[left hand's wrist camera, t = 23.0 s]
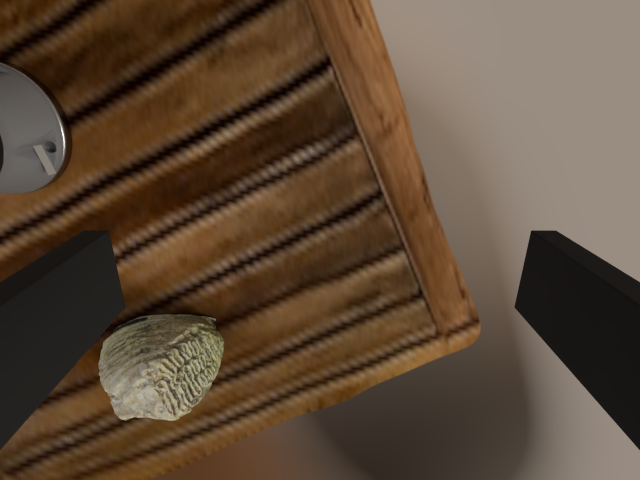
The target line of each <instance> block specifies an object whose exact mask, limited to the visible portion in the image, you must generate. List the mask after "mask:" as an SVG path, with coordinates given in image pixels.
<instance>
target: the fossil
mask: <svg viewBox="0 0 640 480" xmlns="http://www.w3.org/2000/svg"><path fill="white" fill-rule="evenodd" d="M215 320H216V319H214V318H211V317H207V316H195V315H182V314H179V315H170V314H163V315H150V316H143V317H139V318H136V319H134V320H131V321H128V322H127V323H126V324H123V325H120V326H118V327H117V328H116V329H115V330H114V331H113V332H112V334H111V335H110V336H109V337H108V338H107V339H105V340H104V342H103V349H102V350H101V356H100V360H99V369H100V372H99V375H100V381H101V384H102V385H103V388H104V390H105V391H106V392H107V393H108V395H109V396H110V400H111V404H112V407H113V409H114V412H115V414H116V415H117V416H118V417H119V418H120V419H123V420H128V419H130V418H133V417H138V418H145V417H149V418H154V419H164V420H170V421H173V420H177V419H179V418H180V417H181V416H183V415H185V414H187V413H189V412H191V411H192V408H193V407H194V406H195V405H196V404H198V403H199V402H200V400H201V399H202V398H203V397H204V396H205V395H206V393H207V392H208V390H209V389H210V387H211V384H212V381H213V380H214V379H215V377H216V375H217V373H218V370H219V367H220V364H221V359H222V356H223V349H224V340H223V337H222V336H221V334H220V333H219V332H218V331H217V330H216V326H215Z"/></svg>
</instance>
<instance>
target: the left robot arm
mask: <svg viewBox="0 0 640 480" xmlns="http://www.w3.org/2000/svg"><path fill="white" fill-rule="evenodd" d="M71 151H72V137H71V131H70V127H69V123H68V120H67V118H66V115H65V113H64V111H63V109H62V107H61V106H60V104H59V102H58V101H57V99H56V98H55V97H54V95H53V94H52V93H51V92H50V91H49V89H48V88H47V87H46V86H45V85H44V84H43V83H41V82H40V81H39V80H38V79H37V78H35V77H34V76H33V75H31V74H30V73H28V72H27V71H25V70H23V69H21V68H19V67H17V66H15V65H12V64H9V63H6V62H2V61H0V193H4V194H20V193H28V192H32V191H35V190H38V189H41V188H43V187H46V186H48V185H50V184H52V183H53V182H54V181H56V180H57V179H58V178H59V177H60V176H61V175H62V174H63V172H64V171H65V169H66V167H67V165H68V163H69V160H70V156H71ZM124 308H125V303H124V299H123V294H122V289H121V285H120V280H119V276H118V271H117V266H116V262H115V257H114V253H113V248H112V243H111V239H110V234H109V231H83V232H81V233H79V234H78V235H76V236H75V237H73V238H71V239H70V240H68V241H66V242H65V243H63V244H62V245H60V246H58V247H57V248H55V249H54V250H52V251H50V252H49V253H47V254H45V255H44V256H42V257H41V258H39V259H37V260H36V261H34V262H32V263H31V264H29V265H28V266H26V267H24V268H23V269H21V270H19V271H18V272H16V273H15V274H13V275H11V276H10V277H8V278H6V279H5V280H3V281H2V282H0V450H1V449H2V447H3V446H4V445H5V444H6V443H7V442H8V441H9V439H10V438H11V437H12V436H13V435H14V434H15V433H16V431H17V430H18V429H19V428H20V427H21V426H22V425H23V423H24V422H25V421H26V420H27V419H28V418H29V417H30V416H31V414H32V413H33V412H34V411H35V410H36V409H37V408H38V406H39V405H40V404H41V403H42V402H43V401H44V400H45V398H46V397H47V396H48V395H49V394H50V393H51V392H52V390H53V389H54V388H55V387H56V386H57V385H58V384H59V382H60V381H61V380H62V379H63V378H64V377H65V376H66V374H67V373H68V372H69V371H70V370H71V369H72V368H73V366H74V365H75V364H76V363H77V362H78V361H79V360H80V359H81V357H82V356H83V355H84V354H85V353H86V352H87V351H88V349H89V348H90V347H91V346H92V345H93V344H94V343H95V341H96V340H97V339H98V338H99V337H100V336H101V335H102V333H103V332H104V331H105V330H106V329H107V328H108V327H109V325H110V324H111V323H112V322H113V321H114V320H115V319H116V317H117V316H118V315H119V314H120V313H121V312H122V311H123V309H124ZM515 308H516V309H517V311H518V312H519V313H520V314H521V315H522V316H523V317H524V319H525V320H526V321H527V322H528V323H529V324H530V325H531V327H532V328H533V329H534V330H535V331H536V332H537V333H538V335H539V336H540V337H541V338H542V339H543V340H544V341H545V343H546V344H547V345H548V346H549V347H550V348H551V349H552V351H553V352H554V353H555V354H556V355H557V356H558V357H559V359H560V360H561V361H562V362H563V363H564V364H565V365H566V366H567V368H568V369H569V370H570V371H571V372H572V373H573V374H574V376H575V377H576V378H577V379H578V380H579V381H580V382H581V384H582V385H583V386H584V387H585V388H586V389H587V390H588V392H589V393H590V394H591V395H592V396H593V397H594V398H595V400H596V401H597V402H598V403H599V404H600V405H601V406H602V407H603V409H604V410H605V411H606V412H607V413H608V414H609V415H610V417H611V418H612V419H613V420H614V421H615V422H616V423H617V425H618V426H619V427H620V428H621V429H622V430H623V431H624V433H625V434H626V435H627V436H628V437H629V438H630V439H631V441H632V442H633V443H634V444H635V445H636V446H637V447H638V449H639V450H640V282H638V281H637V280H635V279H634V278H632V277H630V276H629V275H627V274H625V273H624V272H622V271H621V270H619V269H617V268H616V267H614V266H612V265H611V264H609V263H608V262H606V261H604V260H603V259H601V258H599V257H598V256H596V255H595V254H593V253H591V252H590V251H588V250H586V249H585V248H583V247H582V246H580V245H578V244H577V243H575V242H573V241H572V240H570V239H569V238H567V237H565V236H564V235H562V234H560V233H559V232H557V231H531V234H530V239H529V243H528V248H527V253H526V257H525V262H524V266H523V271H522V276H521V280H520V285H519V289H518V294H517V299H516V303H515Z"/></svg>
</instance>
